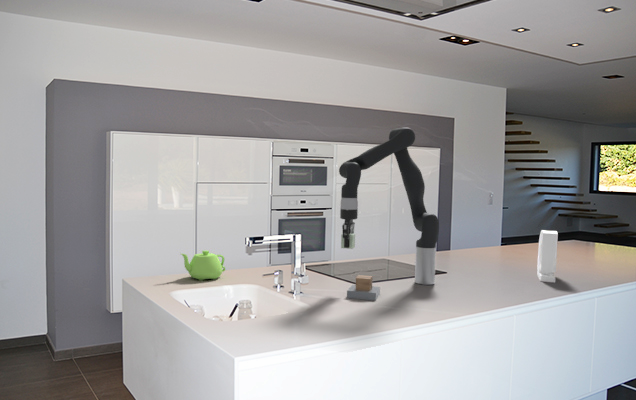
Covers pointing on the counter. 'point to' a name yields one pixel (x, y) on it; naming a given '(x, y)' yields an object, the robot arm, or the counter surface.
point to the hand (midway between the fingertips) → (348, 246)
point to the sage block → (351, 242)
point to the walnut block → (364, 283)
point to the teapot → (204, 265)
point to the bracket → (547, 255)
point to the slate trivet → (363, 293)
